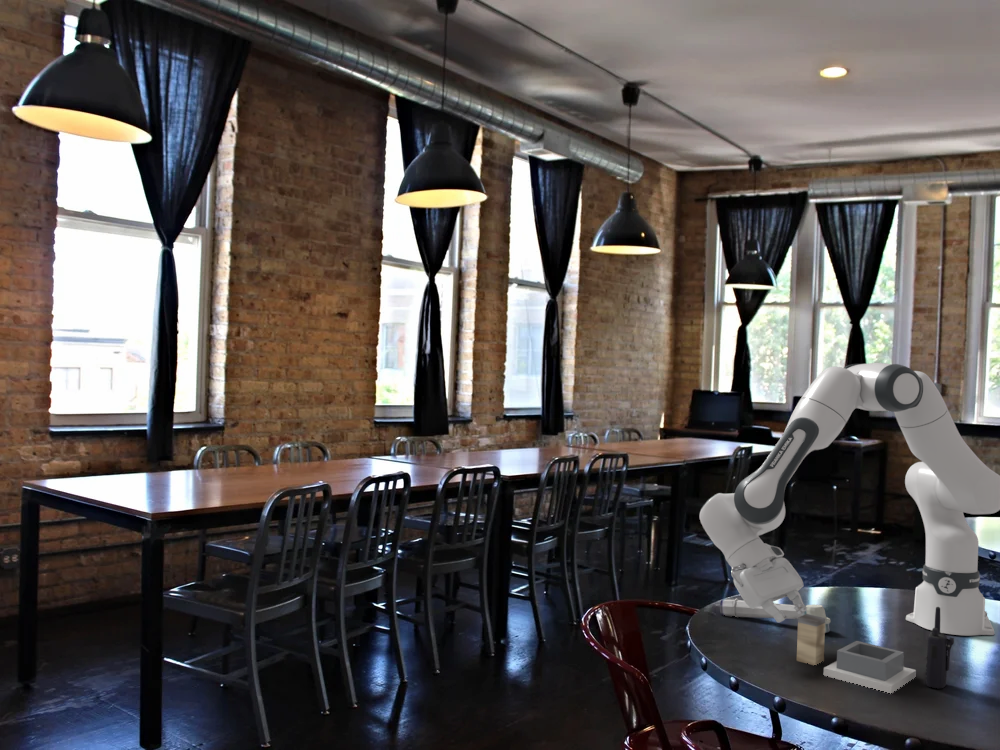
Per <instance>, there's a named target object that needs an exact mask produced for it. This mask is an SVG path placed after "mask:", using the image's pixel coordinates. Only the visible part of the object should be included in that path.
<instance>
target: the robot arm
mask: <svg viewBox="0 0 1000 750" xmlns="http://www.w3.org/2000/svg"><path fill="white" fill-rule="evenodd" d="M855 409H858V410H859V409H860V410H863V411H868V412H887V411H889V412H892V413H894V417H895V419H896V422H897V424H898V426H899V428H900V430H901V433H902V435H903V437H904V439H905V441H906V443H907V446H908V449H909V450H910V452H911V453H912V455H913V456H915V457H916V458H917V459H918V460H920V461H917V462H915V463H913V464H912V465H911V466H910V467H909V468H908V469H907V472H906V474H905V477H904V478H905V479H904V484H905V488H906V489H905V490H906V491H907V493H908V494H909V495H910V497H911V498H912V499H913V500H914V502H915V504H916V505H917V507H918V510H919V512H920V515H921V519H922V522H923V527H924V533H925V561H924V562H925V563H924V564H923V566H922V567H923V568H922V580H923V581H922V582H921V583H920V584H918V585H917V586H916V587H915V590H914V591H915V592H914V593H915V594H914V602H913V603H914V604H913V612H911V613H908V614H906V616H905V620H906V621H908V622H910V623H912V624H913V623H914V624H916V625H918V626H919V627H922V628H923V629H926V630H930V631H932V629H933V628H934V627H935V613H936V607H940V633H943V634H945V635H946V634H947V635H952V636H954V635H956V636H966V637H967V636H969V637H971V636H981V635H982V636H983V635H984V636H993V635H995V629H994V627H993V625H992V623H991V621H990V619H989V617H988V612H987V611H986V597H984V595H983V593H981V591H980V589H979V586H980V580H981V576H980V571H979V570H978V566H979V565H978V563H979V561H978V560H979V537H978V536H977V534H976V532H974V530H973V529H972V528H971V527H970V526H969V524H968V522H967V520H966V517H965V515H964V513H966V514H970V515H991V514H995V513H997V512H999V511H1000V474H999V473H997V472H996V471H994V470H992V469H991V468H990V467H988V465H987V464H985V463H984V462H983V461H982V460H981V459H980V458H979V457H978V456H977V455H976V453H975V452H974V451H973V450H972V449H971V447H970V446H969V445H968V444H967V443H966V442H965V440H964V438H963V437H962V436H961V434H960V432H959V430H958V428H957V426H956V424H955V421H954V419H953V417H952V415H951V413H950V411H949V409H948V406H947V404H946V402H945V400H944V398H943V396H942V394H941V393H940V391H939V389H938V388H937V386H936V385H935V383H934V382H933V380H932V379H931V378H930V376H929V375H928V374H926V372H923V371H919V370H913V369H912V368H910V367H908V366H905V365H903V364H899V363H886V362H885V363H884V362H872V363H852V364H848V365H846V366H844V367H842V366H829V367H827V368H825V369H824V370H823V371H821V372H820V373H819V374H818V375H817V376H816V378H814V380H813V381H812V382H811V384H810V385H809V386H808V387H807V388H806V390H805V392H804V393H803V395H802V396H801V398H800V399H799V400H798V402H797V404H796V406H795V408H794V410H793V412H792V413H791V415H790V418H789V420H788V422H787V425H786V426H785V429H784V432H783V433H782V435H781V437H780V439H779V440H778V441H777V443H776V444H775V446H774V447H773V449H772V450H771V451H770V453H769V454H768V456H767V457H766V459H765V460H764V462H763V463H762V464H761V466H760V467H759V468H757V469H756V470H755V471H754V472H752V473H751V474H750V475H747V476H746V477H744V479H742V480H741V481H740V482H739V484H737V486H736V488H735V491H734V493H733V492H732V493H722V492H718V493H716V494H714V495H712V496H711V497H710V498H708V499H707V500H706V502H705V503H704V504H703V505H702V507H701V508H700V511H699V520H700V521H699V522H700V524H701V525H702V528H703V530H704V531H705V533H706V534H707V536H708V538H709V539H710V540H711V542H712V543H713V544H714V546H715V547H717V548H718V549H719V550H720V551H721V552H722V554H723V555H724V558H725V561H726V562H727V564H728V565H729V566H730V567H731V569H730V570H731V571H730V572H731V574H730V575H731V577H732V578H733V584H734V586H735V588H736V589H737V591H738V593H739V595H740V596H741V599H742V600H743V601H745V603H746V604H747V605H748V606H749V607H750V608H752V609H754V608H757V607H760V606H762V608H763V609H764V610H765V611H766V612H767V613H769V614H770V615H771V616H773V617H774V618H773V620H775V621H776V623H782V622H784V621H785V620H786V615H785V614H784V612H783V611H782V610H781V611H780V610H779V609H778V608H777V607H776V606H774V605H773V604H774V603H775V601H778V600H781V599H783V598H784V599H785V598H786V597H787V598H788V599H789V600H790V601H792V603H793V604H792V605H794V606H795V607H794V609H795V610H796V611H797V613H798V614H801V613H804V612H805V611H806V610H807V607H806V605H805V604H804V601H803V599H802V596H801V593H800V592H799V591H800V590H801V589H803V588H804V582H803V579H802V577H801V576H800V574H799V573H798V571H797V570H796V568H794V567H793V566H794V565H792V563H790V561H789V560H788V559H787V558H785V557H784V555H785V553H784V551H783V550H782V549H781V547H778V546H774V545H770V544H768V543H766V542H765V543H764V541H763V540H762V539H761V538H760V536H763V535H764V534H768V533H769V532H771V531H774V530H775V529H777V528H778V527H780V525H781V524H782V523H783V521H785V520H784V519H785V517H786V506H785V505H786V504H785V492H786V491H785V490H786V487H787V484H788V483H789V481H790V480H791V478H792V477H793V475H794V474H795V472H796V471H797V470H798V468H799V466H800V465H801V464H802V462H803V460H805V458H806V457H807V456H808V455H809V454H810V453H811V452H814V451H819V450H824V449H826V448H828V447H829V446H830V445H831V444H832V443H833V441H835V439H836V438H837V437H838V436H839V435H840V434H841V432H842V430H843V428H844V427H845V426H846V424H847V423H848V421H849V419H850V417H851V415H852V413H853V412H854V410H855Z"/></svg>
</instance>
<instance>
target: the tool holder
mask: <svg viewBox="0 0 1000 750" xmlns="http://www.w3.org/2000/svg"><path fill="white" fill-rule="evenodd" d="M904 657H905V652H904V651H901V650H897V649H892V648H888V647H884V646H881V645H875V644H871V643H867V642H863V641H859V640H855V641H854V642H851V643H849V644H848V645H845V646H843V647H841V648H839V649H838V650H836V660H835V661H834V662H832V663H830V664H829V665H827V666H824V667H823V675H824V677H827V676H828V677H827V678H832V679H834V678H835V679H834V680H839V681H841V680H842V682H845V681H846V682H845V683H849V682H850V683H849V684H852V683H854V684H853V685H856V684H858V685H857V686H859V685H861V686H860V687H863V686H865V687H864V688H867V687H868V689H870V688H873V689H872V690H874V689H876V690H875V691H878V690H880V691H879V692H881V691H884V692H883V693H885V692H887V693H886V694H888V693H890V694H889V695H892V694H894V693H895V692H896V691H898V690H900V689H901V688H902V687H904V686H906V685H907V684H908V682H909V681H910V682H911V680H912V679H913V680H914V678H915V677H916V678H917V670H916V669H914V668H909V667H905V666H904V663H905V661H904V659H905V658H904ZM916 678H915V679H916ZM913 680H912V681H913ZM910 682H909V683H910ZM906 683H907V684H906ZM905 684H906V685H905ZM903 685H904V686H903ZM900 687H901V688H900ZM897 689H898V690H897ZM894 691H895V692H894ZM891 693H892V694H891Z"/></svg>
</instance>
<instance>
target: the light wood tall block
mask: <svg viewBox="0 0 1000 750" xmlns="http://www.w3.org/2000/svg"><path fill="white" fill-rule="evenodd" d="M825 634H826V633H825V618H822V617H818V616H814V615H809V614H805V615H803V616H800V617H798V619H797V634H796V635H797V637H796V638H797V642H796V645H797V646H796V662H800V663H803V664H807V663H808V665H811V666H814V665H816V666H818V665H820V664H821V662H822V661H823V662H824V661H825V638H826V636H825ZM823 662H822V663H823ZM819 663H820V664H819ZM817 664H818V665H817Z"/></svg>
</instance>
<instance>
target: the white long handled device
mask: <svg viewBox="0 0 1000 750" xmlns="http://www.w3.org/2000/svg"><path fill="white" fill-rule="evenodd" d="M773 605H774V606H776V607H777V608H778V609H779V610H780V611H781V610H782V611H783V612H784V614H785V615H786V619H791V620H798V617H800V616H803V615H805V614H809V615H814V616H818V617H822V618H825V634H826V633H829V632H830V631H831V630H830V623H831V618H829V617H827V616H826V611H825V610H826V609H825V608H824V606H823V605H821V604H807V605H805V606H806V607H807V610H806V611H805V612H804V613H801V614H798V613H797V611H796V610H795V609H794V607H795V606H794V604H784V603H783V604H782V603H775V602H774V604H773ZM719 611H720V614H721V616H724V615H725V617H732V616H735V617H737V618H739V617H740V618H759V619H762V618H763V619H774V617H773V616H771V615H770V614H769V613H767V612H766V611H765V610H764V609H763V608H762V606H760V607H757V608H754V609H752V608H750V607H749V606H748V605H747V604H746V603H745V601H744V600H743V599H742V600H741V599H738V598H735V599H722V600H720V604H719ZM735 617H734V618H735ZM786 619H785V620H786Z"/></svg>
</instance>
